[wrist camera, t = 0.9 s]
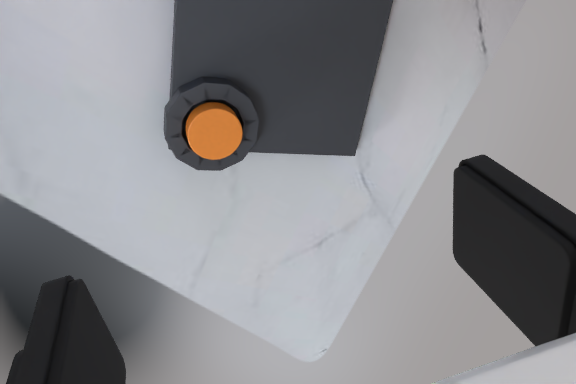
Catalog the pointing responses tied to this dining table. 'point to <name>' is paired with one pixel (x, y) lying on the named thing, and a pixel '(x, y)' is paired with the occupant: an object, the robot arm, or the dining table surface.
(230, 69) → the scale
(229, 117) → the button
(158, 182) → the dining table surface
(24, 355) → the robot arm
